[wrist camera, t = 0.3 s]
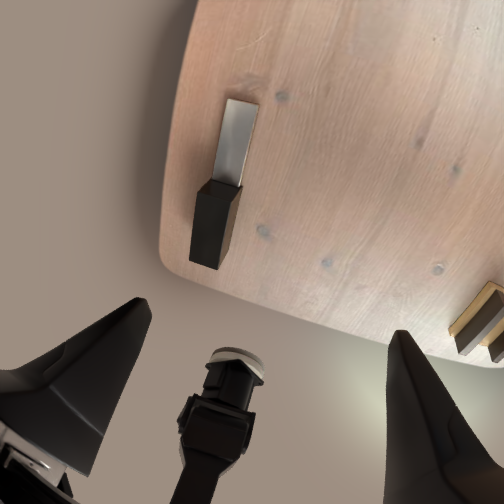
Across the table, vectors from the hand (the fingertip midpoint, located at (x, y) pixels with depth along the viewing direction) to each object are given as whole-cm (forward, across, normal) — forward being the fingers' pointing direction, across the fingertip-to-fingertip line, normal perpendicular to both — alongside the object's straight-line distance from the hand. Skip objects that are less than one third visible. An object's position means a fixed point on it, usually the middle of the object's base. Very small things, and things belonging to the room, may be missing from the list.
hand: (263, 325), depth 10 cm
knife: (+16, +6, +1) cm, 17 cm away
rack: (+16, -24, +14) cm, 32 cm away
